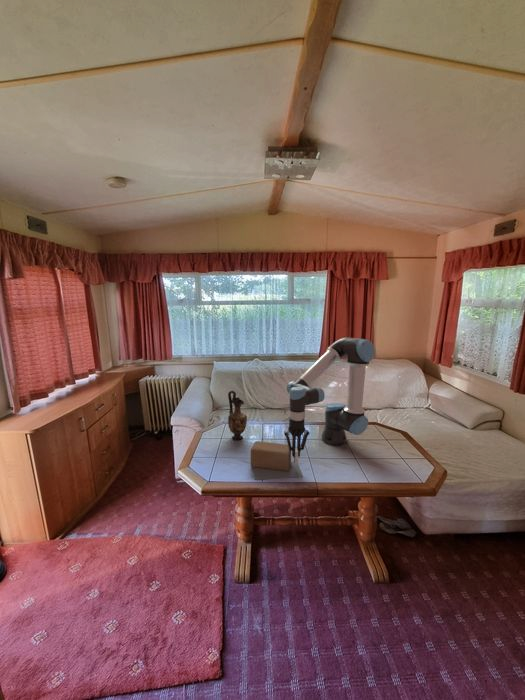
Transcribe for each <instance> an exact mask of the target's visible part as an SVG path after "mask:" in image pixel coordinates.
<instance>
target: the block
mask: <svg viewBox="0 0 525 700" xmlns="http://www.w3.org/2000/svg"><path fill="white" fill-rule="evenodd" d="M291 462H292V450H291V451H290V449H289V447H288V443H287V444H286V443H285V444H284V443H275V442H267V441H259V440H257V441H256V440H255V441H254V442H253V444H252V447H251V448H250V467H252V468H253V467H259V468H266V469H274V470H282V471H288V470H289V467H290V463H291Z"/></svg>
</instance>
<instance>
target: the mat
mask: <svg viewBox="0 0 525 700" xmlns="http://www.w3.org/2000/svg"><path fill="white" fill-rule="evenodd" d="M252 472H253V473H252V474H253V479H254V481H258V480H276V479H279V480H280V479H295V478H297V479H298V478H304V475H303V472H302V470H301V467H300V465H299V463H298V464H295V462H294V460H293V461H291V463H290V467H289V470H288V471H282V470H274V469H266V468H259V467H252Z"/></svg>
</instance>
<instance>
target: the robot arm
mask: <svg viewBox="0 0 525 700" xmlns="http://www.w3.org/2000/svg"><path fill="white" fill-rule="evenodd" d="M375 353H376V349H375V345H374V344H373V343H372V341H371V340H368V339H365V338H358V337H349V336H348V337H342V338H340V339H337V340H335V341H334V342H333V343H331V344H330V345H329V346H328V347H327V348H326V351H325V352H324V354H322V355H321V356H320V357H319V358H318V359H317V360H316V361H315V362H314V363H313V364H312V365H311V366H310V367H309V368H308V369H307V370H306V371H305V372H304V373H303V374H301V376H300V377H299V378H298V379H296V380H295V381H294V380H292V381H289V382H288V383H287V385H286V392H287V394H289V418H288V419H289V421H288V428H287V430H284V431H283V434H284V436H285V438H286V441H287V442H286V443H287V445H288V447H289V449H290V451H291V457H293V461H294V462H295V464H298V465H299V457H301V451H304V449H305V446H306V443H307V439H308V436H309V435H310V431H309V430H308V429H306V428H305V421H306V420H305V418H306V416H305V415H306V414H305V413H306V406H309V405H315V404H318V403H321V402H323V401H324V400H325V391H324V390H323V388H321V387H311V386H312V385H313V384H314V383H316V381H317V380H318V379H319V378H320V377H321V376H323V374H325V373H326V372H327V370H328V369H329V368H330V367H332V365H333V364H334V363H335V362H337V361H338V362H339V361H340V360H341V359H342V358H346V359H347V360H346V363H348V364H349V369H348V370H349V371H348V382H347V395H346V404H344V403H341V402H331V403H327V404H326V406H325V412H324V413H325V415H324V416H325V417H324V428H323V430H322V433H321V441H322V442H323V443H326V444H328V445H330V446H342V445H345V444H346V443H347V435H346V431H347V432H348V433H350V434H351V435H355V436H359V435H360V436H361V435H362V434H363V433H364V432H365V431H366V430H367V428H368V425H369V419H368V417H367V415H366V416H365V414H366V413H365V409H364V408H363V400H364V391H365V379H366V370H367V369H366V368H367V367H368V365H370V362H371V361H373V360H374V357H375V356H376V355H375ZM289 435H291V439H292V441H291V440H290V436H289ZM302 435H303V437H302ZM301 439H302V440H301Z"/></svg>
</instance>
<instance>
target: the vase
mask: <svg viewBox="0 0 525 700" xmlns="http://www.w3.org/2000/svg"><path fill="white" fill-rule="evenodd" d="M231 394H232V395H231ZM227 395H228V396H227V397H228V404H229V405H228V406H229V411H228V412H229V414H228V418H227V424H228V429H229V431H230V432H231V433H232V434H233V436H231V440H232V439H233V440H232V441H234V440H235V441H234V442H239V440H240V441H242V440H243V439H244V437H243V436H242V433H244V432H245V430H246V428H247V422H248V416H247V415H246V414H245V413H244V412H241V406H242V405H244V404H245V401H244V400H242V399H240V397H237V393H236V391H235V390H231V391H229V392H228V394H227ZM233 405H234V408H233ZM233 410H234V411H233Z"/></svg>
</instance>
